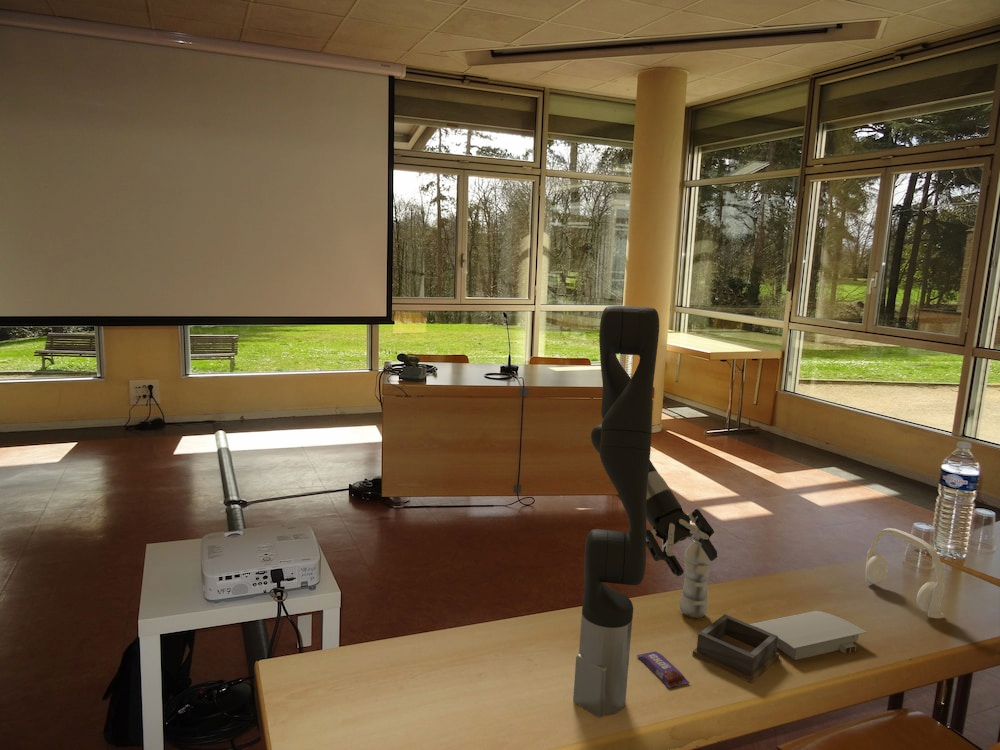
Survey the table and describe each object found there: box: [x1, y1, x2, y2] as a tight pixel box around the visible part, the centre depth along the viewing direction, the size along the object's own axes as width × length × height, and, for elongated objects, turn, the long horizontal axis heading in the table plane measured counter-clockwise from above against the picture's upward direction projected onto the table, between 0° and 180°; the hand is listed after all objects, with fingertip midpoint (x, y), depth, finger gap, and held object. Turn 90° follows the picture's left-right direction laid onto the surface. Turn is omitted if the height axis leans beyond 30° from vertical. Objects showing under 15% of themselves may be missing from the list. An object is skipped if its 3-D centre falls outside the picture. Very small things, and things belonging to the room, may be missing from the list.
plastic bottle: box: [679, 540, 713, 619], centre depth 162 cm, size 6×7×20 cm
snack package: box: [636, 651, 691, 688], centre depth 142 cm, size 12×2×5 cm
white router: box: [749, 610, 867, 661], centre depth 155 cm, size 15×23×4 cm, turn 112°
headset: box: [864, 527, 946, 619], centre depth 174 cm, size 20×7×18 cm, turn 20°
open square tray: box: [692, 613, 780, 684], centre depth 147 cm, size 13×13×5 cm
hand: (698, 566), depth 140 cm, fingers open, 8 cm apart
